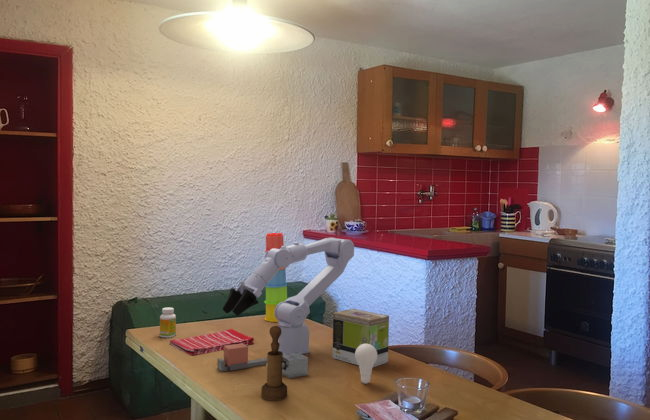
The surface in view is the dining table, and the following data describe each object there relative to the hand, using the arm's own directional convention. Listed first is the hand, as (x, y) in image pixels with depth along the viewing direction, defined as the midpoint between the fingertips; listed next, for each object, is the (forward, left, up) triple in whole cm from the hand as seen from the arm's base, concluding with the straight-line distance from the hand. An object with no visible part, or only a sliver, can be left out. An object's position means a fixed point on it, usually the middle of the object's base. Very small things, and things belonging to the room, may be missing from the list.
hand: (229, 312), depth 167 cm
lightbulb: (-28, +32, -16) cm, 45 cm away
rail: (-5, +4, -16) cm, 17 cm away
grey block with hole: (-14, +16, -16) cm, 26 cm away
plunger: (-8, +16, -14) cm, 23 cm away
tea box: (-38, +14, -16) cm, 43 cm away
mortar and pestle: (-2, +29, -16) cm, 33 cm away
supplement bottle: (+8, -39, -16) cm, 43 cm away
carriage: (-1, +4, -16) cm, 16 cm away
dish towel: (-3, -23, -17) cm, 29 cm away
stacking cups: (-37, -45, -16) cm, 61 cm away
